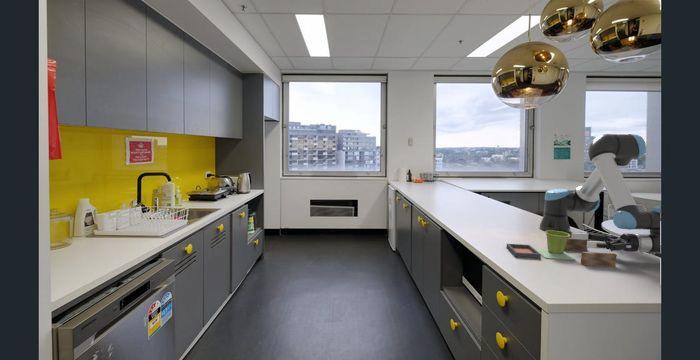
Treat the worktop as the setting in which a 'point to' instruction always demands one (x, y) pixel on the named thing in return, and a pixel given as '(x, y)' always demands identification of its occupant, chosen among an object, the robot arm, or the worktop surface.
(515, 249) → the tray
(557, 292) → the worktop surface
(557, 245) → the plant pot
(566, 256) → the pad
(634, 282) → the worktop surface
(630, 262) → the worktop surface
